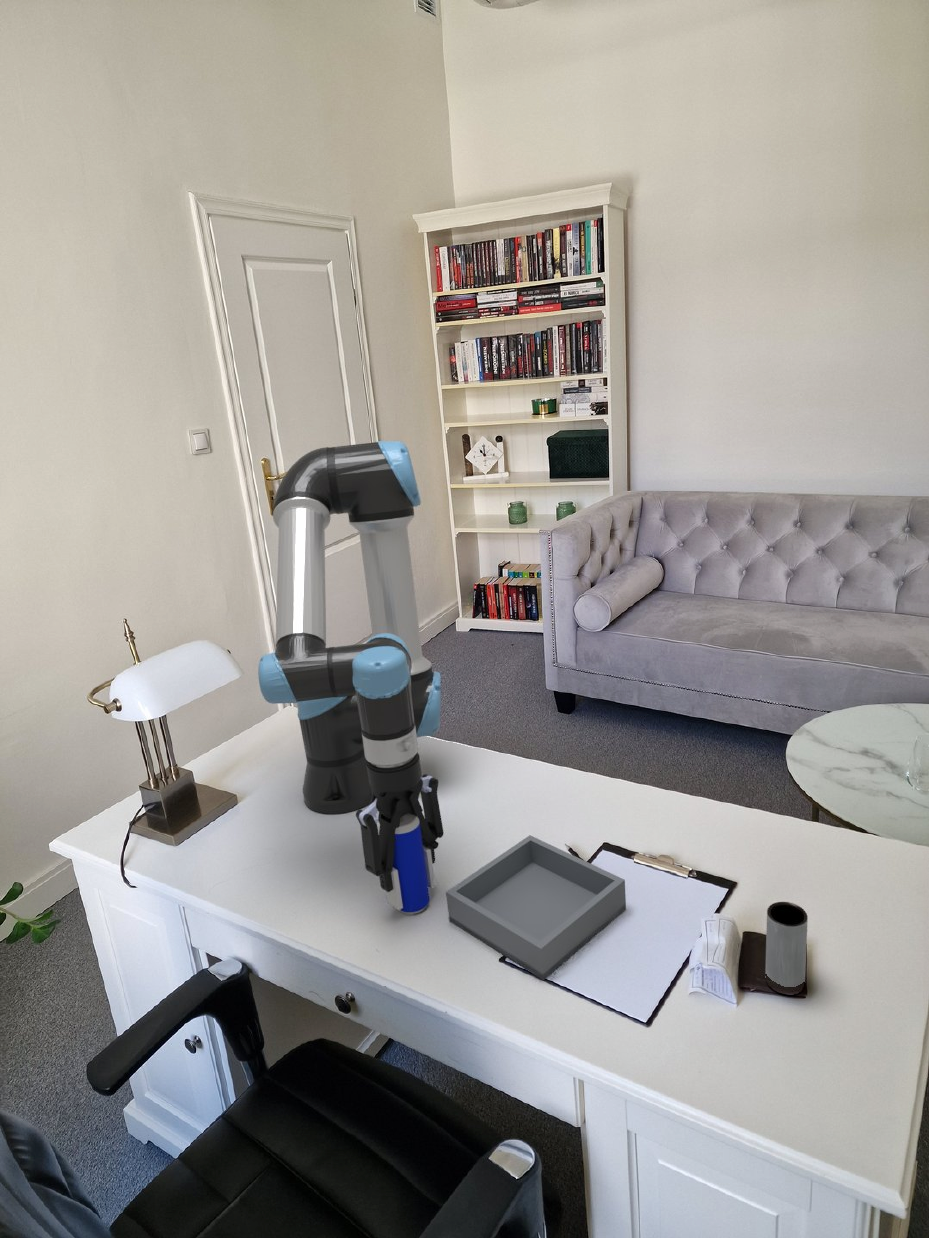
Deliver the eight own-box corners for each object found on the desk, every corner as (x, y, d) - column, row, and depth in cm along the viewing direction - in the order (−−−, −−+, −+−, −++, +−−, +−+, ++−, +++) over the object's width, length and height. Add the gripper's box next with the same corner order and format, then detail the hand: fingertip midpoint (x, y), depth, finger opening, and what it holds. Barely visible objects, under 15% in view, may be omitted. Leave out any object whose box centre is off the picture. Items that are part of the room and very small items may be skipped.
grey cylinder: (758, 984, 100) (760, 915, 97) (775, 963, 103) (777, 896, 100) (794, 1002, 97) (797, 931, 94) (811, 980, 100) (814, 911, 97)
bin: (449, 920, 117) (445, 891, 115) (532, 862, 128) (529, 834, 127) (543, 980, 104) (541, 948, 103) (626, 909, 116) (624, 879, 114)
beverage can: (434, 895, 123) (423, 809, 118) (423, 917, 118) (411, 829, 113) (402, 892, 124) (390, 807, 120) (391, 914, 120) (377, 826, 115)
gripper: (354, 792, 105) (377, 938, 112) (458, 738, 117) (473, 873, 124) (322, 775, 110) (346, 916, 117) (424, 724, 122) (441, 855, 129)
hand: (411, 894), depth 121 cm, fingers open, 6 cm apart
